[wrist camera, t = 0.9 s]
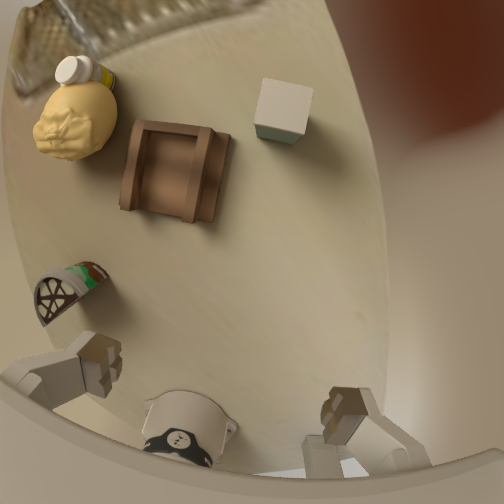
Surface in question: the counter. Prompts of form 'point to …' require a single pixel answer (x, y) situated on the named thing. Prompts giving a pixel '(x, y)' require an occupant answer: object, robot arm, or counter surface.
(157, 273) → the counter surface
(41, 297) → the food container
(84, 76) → the supplement bottle
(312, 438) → the skincare box
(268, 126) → the tin
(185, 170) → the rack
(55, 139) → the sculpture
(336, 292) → the counter surface
